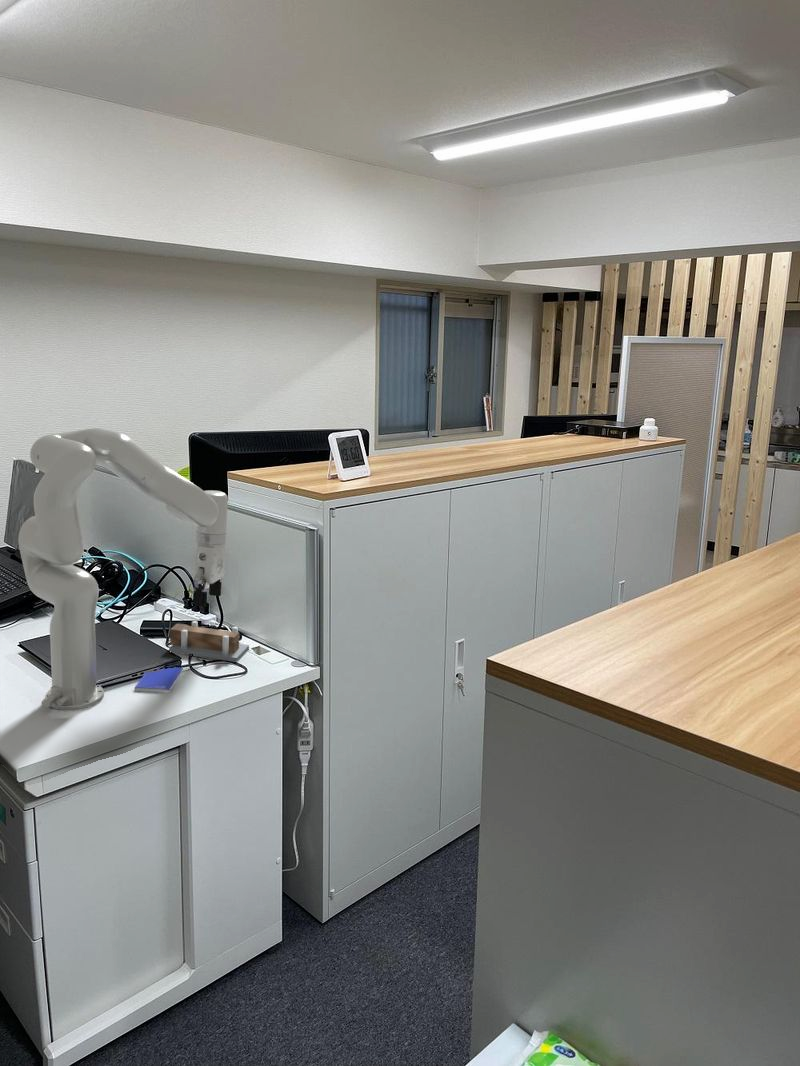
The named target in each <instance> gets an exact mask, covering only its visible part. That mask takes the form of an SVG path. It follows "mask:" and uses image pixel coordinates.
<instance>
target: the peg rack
mask: <svg viewBox="0 0 800 1066" xmlns="http://www.w3.org/2000/svg"><path fill="white" fill-rule="evenodd" d="M198 623H199V622H198V621H196V620H194V621H191V626H194V627H199V624H198ZM231 632H237V633H239V627H238V626H232V627H231ZM249 650H250V645H249V644H243V643H239V649H238V650H237V651H236V652H235V653H230V652H228V651H229V636H223V643H222V651H216V650H209V649H202V648H195V647H188V646H187V630H182V631H181V646H176V645H170V646H169V649H168V651H171V652H173V653H174V654H180V655H185V656H190V655H189V654H190V653H191V654H193V657H201V658H207V659H214V660H221V661H228V662H233V663H238V661H240V659H241V658H242V657H243V656H244V655H245V654H246V653H247V652H249ZM171 652H170V653H171ZM173 653H172V654H173Z"/></svg>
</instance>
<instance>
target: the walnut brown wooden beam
mask: <svg viewBox="0 0 800 1066" xmlns="http://www.w3.org/2000/svg"><path fill="white" fill-rule="evenodd" d="M169 630H170V631H169V645H170V646H172V645H176V646H181V631H182V630H187V646H188V647H195V648H202V649H209V650H216V651H222V643H223V636H229V651H228V652H230V653H235V652H236V651H237V650H238V649H239V644H240V632H238V633H237V632H232V631H229V630H221V629H215V628H207V627H201V626H200V627H199V626H198V627H194V626H192V625H188V624H186V623H185V624H183V623H176V624H174V626H172V627H170V629H169Z"/></svg>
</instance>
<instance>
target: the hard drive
mask: <svg viewBox="0 0 800 1066" xmlns="http://www.w3.org/2000/svg"><path fill="white" fill-rule="evenodd" d="M173 667H174V668H167V669H163V670H159V671H155V672H150V673H146V672H145V673H146V674H145V673H144V674H143V675H142V677H141V678H140V680H139V681H138V682H137V683H136V685H135V686H134V691H135V692H136V691H137V692H150V693H165V694H166V693H167V694H169V693H170V692H171V690H172V688H173V687H174V685H175V683H177V681H178V678H179V677H180V676H181V674H182V672H183V667H179V666H178V667H176V666H173Z"/></svg>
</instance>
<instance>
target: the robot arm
mask: <svg viewBox="0 0 800 1066" xmlns="http://www.w3.org/2000/svg"><path fill="white" fill-rule="evenodd" d="M29 455H30V456H29V457H30V461H31V463H32V464H33V466H34V468H36V470H38V471H40V472H41V473H43V474H44V475H43V476H42V477H41V479H40V480H39V481H38V484H37V485H36V488H35V490H34V494H33V509H34V510H33V511H34V515H32V516H30V517H29V518H28V519H26V520H25V521H24V522H23V524H22V526H21V527H20V530H19V533H18V541H17V543H18V548H19V553H20V558H21V561H22V562H21V563H22V566H23V570H24V574H25V575H24V576H25V579H26V582H27V586H28V588H29V589H30V591H31V592H32V593H33V594H34V595H35V596H36V597H38V598H40V599H41V600H43V601H45V602H47V603H49V604H52V605H53V606H54V608H53V609H54V610H53V614H52V616H51V619H50V622H49V639H50V640H49V641H50V664H51V665H50V666H51V668H50V669H51V687H50V690H48V691H47V692H46V693H45V695H44V699H43V700H42V701H41V705H42V706H43V708H47V709H48V708H49V707H50V708H52V709H56V710H60V711H61V710H62V711H75V710H77V711H78V710H83V709H86V708H90V707H93V706H94V705H97V704H98V703H99V702H101V701H102V700H103V699H104V696H105V693H104V692H105V691H104V688H103V687H102V686H101V685H99V687H97V685H98V684H97V653H96V652H97V651H96V650H97V648H96V647H97V646H96V644H97V643H96V613H97V612H96V611H97V604H98V601H99V593H100V592H99V585H98V582H97V580H96V578H95V577H94V575H92V574H91V573H89V571H86V570H85V569H83V568H81V567H78V566H75V564H77V563H78V562H79V561H80V560H81V558H82V557H83V554H84V550H85V541H84V537H83V532H82V531H83V530H82V527H81V522H80V517H79V515H80V514H79V511H78V510H79V508H78V495H79V492H80V490H81V488H82V487H83V485H84V484H85V483H86V481H87V480H88V479H89V478H90V477H91V476H92V474H93V473H94V471H95V470H96V466H100V467H103V468H106V469H107V470H109V471H111V472H112V473H113V474H114V475H116V476H117V477H118V478H120V479H122V480H123V481H124V482H126V483H127V484H128V485H129V486H131V487H132V489H133V488H134V489H135V490H136V491H137V492H139V493H140V494H142V495H144V496H146V497H148V498H149V499H152V500H155V501H158V502H160V503H163V504H165V509H166V512H167V514H168V515H169V516H170V517H172V518H173V519H174V520H177V521H179V522H183V523H187V524H190V525H194V526H196V534H195V544H196V545H197V548H196V555H195V565H194V576H193V579H192V580H193V590H194V591H193V592H194V593H193V594H194V595H193V598H194V599H193V605H194V606H197V607H203V608H205V607H206V606H207V601H208V600H207V598H208V595H210V596H213V597H220V596H221V595H222V582H223V578H224V576H225V575H226V538H227V523H228V522H227V520H228V504H229V503H228V501H229V498H228V495H227V494H226V493H225V492H223V491H221V490H212V489H211V490H209V489H208V490H203V489H202V488H201V487H199V486H197V485H196V484H194V482H191V481H190V480H188V479H187V478H186V477H184V476H182V475H180V474H179V473H178V472H176V471H174V470H172V469H171V468H170V467H167V466H166V465H164V464H163V463H161V461H160V460H158V459H156V458H155V457H154V456H153V455H152V454H150V453H149V452H148V451H147V450H146V449H145V448H143V447H142V446H141V445H139V444H138V443H137V442H136V441H135V440H133V439H132V438H130V437H129V436H128V435H126V434H124V433H122V432H118V431H114V430H109V429H105V428H100V427H99V428H97V427H96V428H94V427H93V428H86V429H80V430H79V429H78V430H73V431H72V430H71V431H67V432H64V431H63V432H59V433H58V432H57V433H51V434H46V435H44V436H42V437H39V438H38V439H37V440H35V442H34V443H33V444H32V446H31V448H30V453H29ZM208 584H209V588H208ZM207 589H208V591H207ZM96 684H97V685H96Z"/></svg>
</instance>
